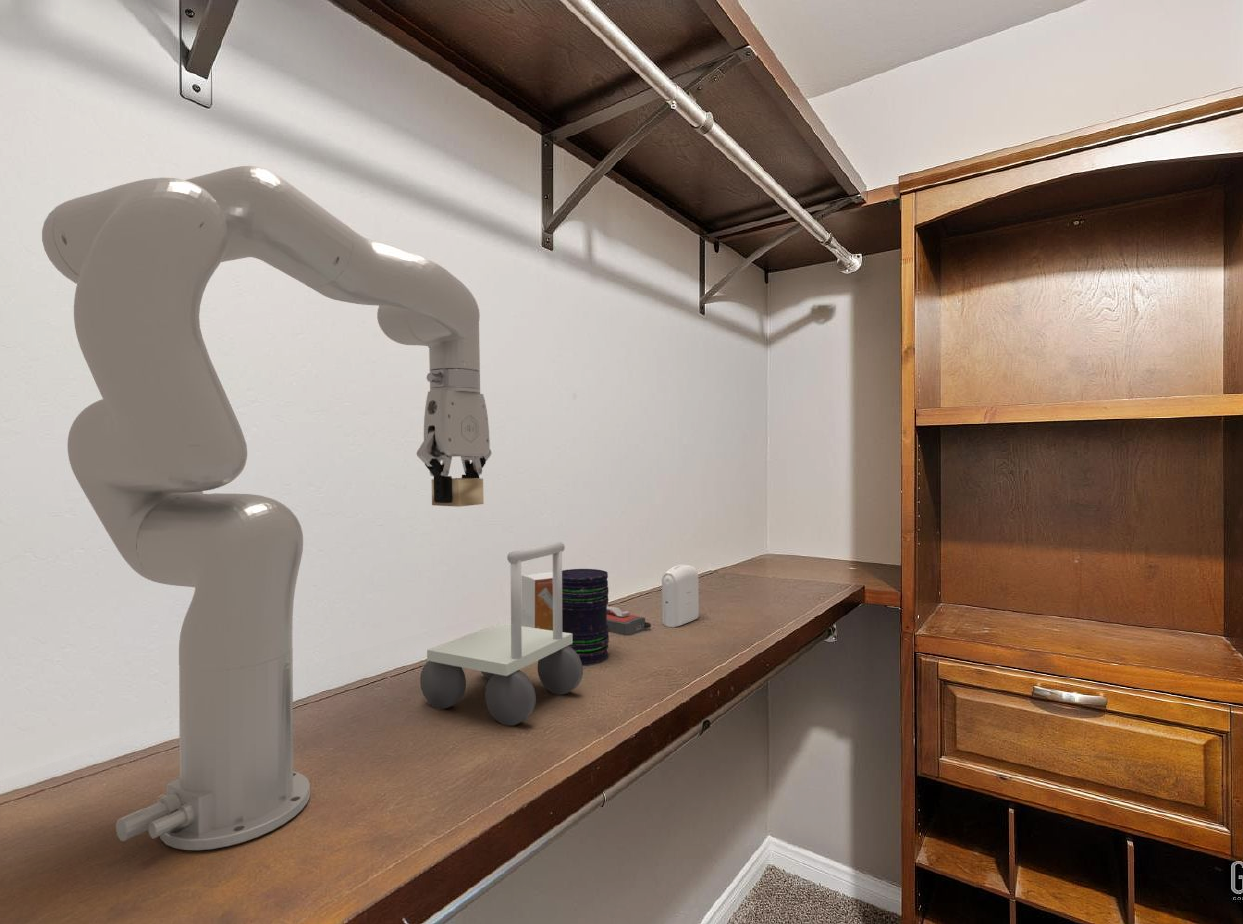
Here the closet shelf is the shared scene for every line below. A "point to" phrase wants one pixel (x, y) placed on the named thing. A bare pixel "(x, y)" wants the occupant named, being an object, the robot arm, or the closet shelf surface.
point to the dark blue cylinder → (586, 613)
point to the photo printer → (680, 595)
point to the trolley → (507, 654)
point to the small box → (537, 601)
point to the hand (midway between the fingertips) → (457, 499)
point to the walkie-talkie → (624, 622)
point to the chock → (464, 492)
